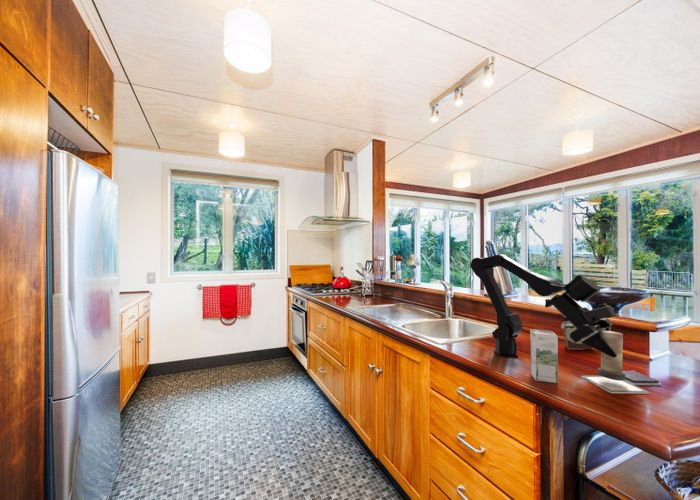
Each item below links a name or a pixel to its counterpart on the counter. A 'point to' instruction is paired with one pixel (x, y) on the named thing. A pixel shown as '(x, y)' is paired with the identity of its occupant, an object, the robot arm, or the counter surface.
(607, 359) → the stamp
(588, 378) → the marked board
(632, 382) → the ink pad
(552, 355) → the syrup box
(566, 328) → the food container
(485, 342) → the counter surface
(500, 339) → the robot arm
